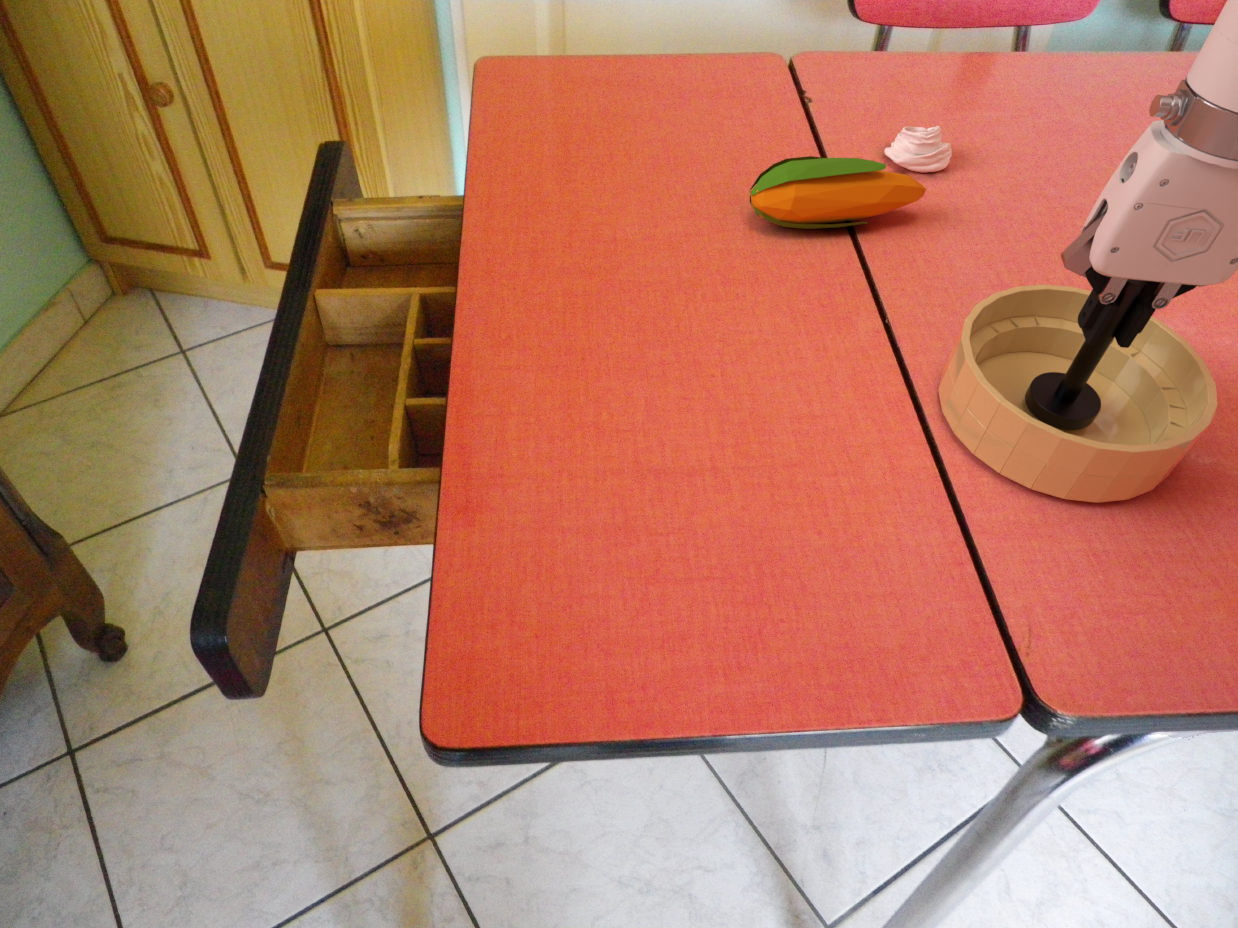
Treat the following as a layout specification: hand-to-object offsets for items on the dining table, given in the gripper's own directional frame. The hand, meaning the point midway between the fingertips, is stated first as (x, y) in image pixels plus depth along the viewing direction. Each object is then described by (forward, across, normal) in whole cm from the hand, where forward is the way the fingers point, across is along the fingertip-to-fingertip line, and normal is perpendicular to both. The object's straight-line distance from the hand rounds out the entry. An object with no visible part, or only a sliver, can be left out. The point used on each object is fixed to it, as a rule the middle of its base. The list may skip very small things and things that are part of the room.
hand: (1103, 333), depth 70 cm
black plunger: (+9, 0, 0) cm, 9 cm away
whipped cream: (+10, -8, +43) cm, 45 cm away
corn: (+10, -19, +29) cm, 36 cm away
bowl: (+10, 0, 0) cm, 10 cm away
